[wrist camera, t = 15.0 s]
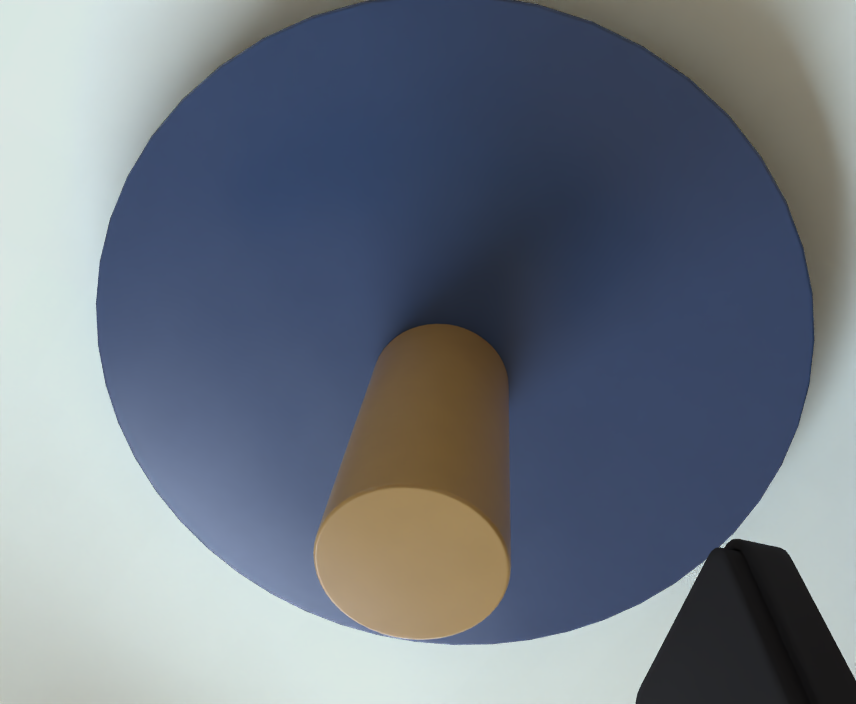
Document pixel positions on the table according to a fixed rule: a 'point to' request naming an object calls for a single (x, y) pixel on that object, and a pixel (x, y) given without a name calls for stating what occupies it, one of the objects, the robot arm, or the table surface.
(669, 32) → the table surface
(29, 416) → the table surface
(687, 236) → the lid
